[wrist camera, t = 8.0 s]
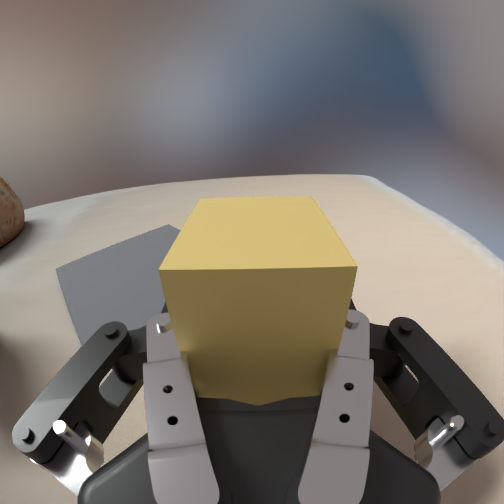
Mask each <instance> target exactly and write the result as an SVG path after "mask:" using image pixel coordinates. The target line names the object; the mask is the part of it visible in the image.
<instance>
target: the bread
mask: <svg viewBox="0 0 504 504" xmlns="http://www.w3.org/2000/svg"><path fill="white" fill-rule="evenodd" d="M24 217H25V216H24V209H23V205H22V203H21V201H20V199H19V198H18V196H17V195H16V194H15V192H14V191H13V190H12V188H11V187H10V186H9V184H8V183H6V182H5V181H4V179H3V178H1V177H0V247H2V246H3V245H5V244H6V243H8V242H10V241H11V240H13V239H14V238H15V237H16V236H17V235H18V234H19V233H20V231H21V230H22V228H23V226H24Z"/></svg>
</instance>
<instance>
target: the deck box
mask: <svg viewBox="0 0 504 504" xmlns="http://www.w3.org/2000/svg"><path fill="white" fill-rule="evenodd" d="M158 271H159V275H160V280H161V284H162V288H163V292H164V297H165V301H166V305H167V308H168V312H169V316H170V320H171V324H172V327H173V331H174V334H175V338H176V341H177V345H178V348H179V351H187V354H188V358H189V361H190V366H191V370H192V374H193V378H194V381H195V384H196V387H197V388H198V391H199V394H200V397H203V398H224V399H231V400H235V401H239V402H244V403H248V404H253V405H264V404H268V403H272V402H276V401H280V400H283V399H287V398H293V397H307V396H317V395H318V391H319V388H320V386H321V383H322V380H323V376H324V372H325V368H326V363H327V358H328V354H329V350H330V349H336V348H339V346H340V343H341V339H342V335H343V331H344V327H345V323H346V319H347V314H348V310H349V306H350V301H351V297H352V292H353V287H354V282H355V277H356V272H357V264H356V263H355V261H354V259H353V258H352V256H351V254H350V253H349V251H348V250H347V248H346V246H345V245H344V243H343V242H342V240H341V239H340V237H339V235H338V234H337V232H336V231H335V229H334V228H333V226H332V225H331V223H330V222H329V220H328V219H327V217H326V216H325V214H324V213H323V211H322V210H321V208H320V207H319V205H318V204H317V202H316V201H315V199H314V198H313V197H232V198H207V199H200V200H199V202H198V204H197V205H196V207H195V208H194V210H193V212H192V213H191V215H190V216H189V218H188V220H187V221H186V223H185V225H184V226H183V228H182V230H181V231H180V233H179V235H178V236H177V238H176V240H175V241H174V243H173V245H172V246H171V248H170V250H169V252H168V253H167V255H166V257H165V259H164V260H163V262H162V264H161V266H160V267H159V269H158Z"/></svg>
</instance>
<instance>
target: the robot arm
mask: <svg viewBox="0 0 504 504" xmlns="http://www.w3.org/2000/svg"><path fill="white" fill-rule="evenodd" d="M406 365H407V366H408V367H409V369H410V370H411V371H412V372H413V373H414V375H415V376H416V377H417V379H418V381H419V383H418V382H417V381H416V379H415V378H414V377H413V376H412V375H411V373H410V372H409V371H408V370H407V368H406V367H405V366H406ZM111 368H112V370H113V371H112V372H111V373H110V375H109V376H108V377H107V378H106V380H105V381H104V382H103V384H102V385H101V386H100V387H99V385H100V382H101V381H102V379H103V378H104V377H105V376H106V374H107V373H108V372H109V371H110V369H111ZM373 379H374V381H375V382H376V384H377V385H378V386H379V388H380V389H381V391H382V392H383V393H384V395H385V396H386V398H387V399H388V401H389V402H390V403H391V405H392V406H393V408H394V409H395V411H396V412H397V413H398V415H399V416H400V418H401V419H402V421H403V422H404V424H405V425H406V426H407V428H408V429H409V431H410V432H411V434H412V435H413V437H414V438H415V440H416V442H415V445H414V451H415V454H414V457H415V459H416V461H418V464H417V463H416V462H414V461H413V460H411V459H410V458H408V457H407V456H406V455H404V454H403V453H401V452H400V451H399V450H397V449H396V448H394V447H393V446H392V445H390V444H389V443H388V442H386V441H385V440H384V439H382V438H381V437H380V436H378V435H377V434H376V433H374V432H373V431H372V430H370V422H371V410H372V395H373ZM143 384H144V399H145V411H146V422H147V431H148V432H147V433H146V434H145V435H144V436H142V437H141V438H140V439H139V440H137V441H136V442H135V443H133V444H132V445H131V446H129V447H128V448H127V449H125V450H124V451H123V452H121V453H120V454H119V455H117V456H116V457H115V458H113V459H112V460H111V461H109V462H108V463H106V464H105V465H104V466H102V467H101V468H100V465H102V464H103V463H104V448H103V446H102V444H103V443H104V441H105V440H106V438H107V437H108V435H109V434H110V432H111V431H112V429H113V428H114V426H115V425H116V423H117V422H118V420H119V419H120V418H121V416H122V415H123V413H124V412H125V410H126V409H127V407H128V406H129V404H130V403H131V401H132V400H133V398H134V397H135V395H136V394H137V393H138V391H139V390H140V388H141V387H142V385H143ZM12 440H13V443H14V445H15V447H16V448H17V449H18V450H20V451H21V452H22V453H24V454H25V455H26V456H28V457H29V458H30V459H31V460H32V461H33V462H35V463H36V464H37V465H39V466H40V467H42V468H43V469H45V470H47V471H48V472H50V473H51V474H52V475H53V476H54V477H55V478H57V479H58V480H59V481H60V482H61V483H62V484H64V485H65V486H66V487H67V488H68V489H70V490H71V491H72V492H73V493H75V494H76V495H77V496H78V504H440V498H441V497H440V492H441V491H442V490H443V489H444V488H446V487H447V486H448V485H449V484H450V483H452V482H453V481H454V480H455V479H456V478H457V477H458V476H460V475H461V474H462V473H463V472H464V471H465V470H466V469H467V468H468V467H470V466H471V465H473V464H474V463H476V462H477V461H478V460H480V459H481V458H483V457H484V456H485V455H487V454H488V453H489V452H491V451H492V450H493V449H494V448H496V447H497V446H498V445H499V444H501V443H502V441H503V440H504V420H503V418H502V417H501V416H500V414H499V413H498V412H497V411H496V409H495V408H494V407H493V406H492V404H491V403H490V402H489V401H488V400H487V398H486V397H485V396H484V395H483V394H482V392H481V391H480V390H479V389H478V388H477V387H476V385H475V384H474V383H473V382H472V381H471V380H470V379H469V378H468V376H467V375H466V374H465V373H464V372H463V371H462V370H461V369H460V367H459V366H458V365H457V364H456V363H455V362H454V361H453V360H452V359H451V358H450V357H449V356H448V354H447V353H446V352H445V351H444V350H443V349H442V348H441V347H440V346H439V345H438V344H437V343H436V342H435V341H434V340H433V339H432V338H431V337H430V336H429V335H428V334H427V333H426V332H425V331H424V330H423V329H422V328H421V327H420V326H419V325H418V324H417V323H416V322H415V321H414V320H412V319H409V318H406V317H397V318H395V319H393V320H392V321H391V322H390V324H389V326H383V325H376V324H372V323H369V319H368V318H367V317H366V315H364V314H363V313H361V312H359V311H357V310H356V308H355V306H354V303H353V301H352V299H351V301H350V306H349V310H348V314H347V319H346V323H345V327H344V331H343V335H342V339H341V343H340V346H339V348H336V349H330V350H329V354H328V358H327V363H326V368H325V372H324V376H323V380H322V383H321V386H320V388H319V391H318V395H317V396H307V397H293V398H287V399H283V400H280V401H276V402H272V403H268V404H264V405H253V404H248V403H244V402H239V401H235V400H231V399H224V398H203V397H200V394H199V391H198V388H197V387H196V384H195V381H194V378H193V374H192V370H191V366H190V361H189V358H188V354H187V351H179V348H178V345H177V341H176V338H175V334H174V331H173V327H172V324H171V320H170V316H169V312H168V308H167V305H166V302H165V304H164V307H163V309H162V311H161V314H158V315H155V316H154V317H152V318H151V319H150V320H149V321H148V323H147V326H146V327H145V328H141V329H135V330H129V331H128V330H127V327H126V325H125V324H123V323H121V322H117V321H113V322H109V323H106V324H104V325H102V326H101V327H100V328H99V329H98V330H97V331H96V332H95V333H94V334H93V335H92V336H91V337H90V338H89V339H88V340H87V342H86V343H85V344H84V345H83V346H82V347H81V348H80V349H79V350H78V351H77V352H76V353H75V355H74V356H73V357H72V358H71V359H70V360H69V361H68V362H67V363H66V365H65V366H64V367H63V368H62V369H61V370H60V371H59V372H58V374H57V375H56V376H55V377H54V378H53V379H52V380H51V382H50V383H49V384H48V385H47V386H46V387H45V389H44V390H43V391H42V392H41V393H40V395H39V396H38V397H37V398H36V399H35V401H34V402H33V403H32V404H31V405H30V407H29V408H28V409H27V410H26V412H25V413H24V414H23V415H22V417H21V418H20V419H19V420H18V422H17V423H16V424H15V426H14V428H13V431H12Z"/></svg>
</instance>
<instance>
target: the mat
mask: <svg viewBox="0 0 504 504" xmlns="http://www.w3.org/2000/svg"><path fill="white" fill-rule="evenodd" d="M179 233H180V230H178V229H176V228H174V227H172V226H171V225H169V224H168V225H165V226H163V227H160V228H157V229H154V230H152V231H149V232H146V233H143V234H141V235H138V236H135V237H133V238H130V239H128V240H125V241H122V242H120V243H117V244H115V245H112V246H110V247H107V248H105V249H102V250H100V251H97V252H95V253H92V254H90V255H87V256H85V257H82V258H80V259H78V260H75V261H73V262H71V263H68V264H66V265H64V266H61V267H59V268H57V269H56V272H57V276H58V279H59V283H60V286H61V289H62V292H63V296H64V299H65V302H66V305H67V308H68V311H69V313H70V316H71V319H72V322H73V324H74V327H75V330H76V332H77V335H78V337H79V340H80V342H81V344H82V346H83V345H84V344H85V343H86V342H87V340H88V339H89V338H90V337H91V336H92V335H93V334H94V333H95V332H96V331H97V330H98V329H99V328H100V327H101V326H102V325H104V324H106V323H109V322H113V321H117V322H121V323H123V324H125V325H126V327H127V330H128V331H129V330H135V329H141V328H145V327H146V326H147V323H148V321H149V320H150V319H151V318H152V317H154V316H155V315H158V314H161V311H162V309H163V307H164V304H165V302H166V301H165V297H164V292H163V288H162V284H161V280H160V275H159V271H158V269H159V267H160V266H161V264H162V262H163V260H164V259H165V257H166V255H167V253H168V252H169V250H170V248H171V246H172V245H173V243H174V241H175V240H176V238H177V236H178V235H179Z"/></svg>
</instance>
